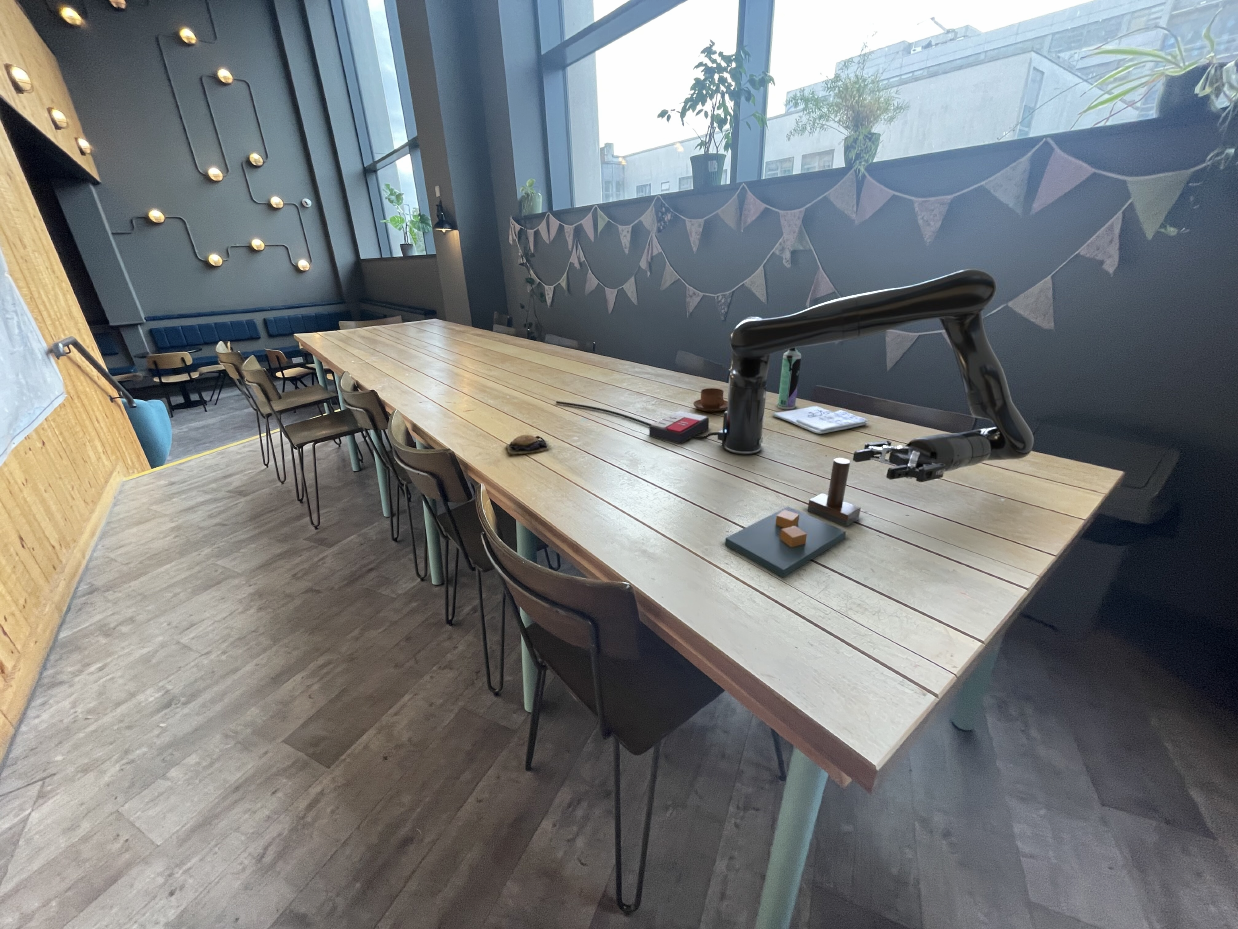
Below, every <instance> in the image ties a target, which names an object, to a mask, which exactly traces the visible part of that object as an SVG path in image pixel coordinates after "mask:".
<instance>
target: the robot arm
mask: <svg viewBox="0 0 1238 929" xmlns="http://www.w3.org/2000/svg"><path fill="white" fill-rule="evenodd" d="M997 290H998V284H997V281H996V279H995V277H993V275H991V273H989V272H987V271H985V270H982V269H977V268H968V269H962V270H958V271H956V272H953V273H950V274H947V275H944V276H940V277H938V278H934V279H931V280H927V281H924V282H920V283H917V284H912V285H908V286H902V287H896V288H887V289H882V290H875V291H871V292H865V293H859V294H854V295H849V296H846V297H845V296H844V297H840V298H837V299H833V300H830V301H826V302H822V303H819V304H817V305H814V306H812V307H809V308H807V309H804V310H801V311H799V312H796V313H793V314H789V315H784V316H779V317H771V318H762V317H760V316H748V317H745V318H743V319H742V320H740V321H739V322H738V323H737V324H736V325H735V327H734V328H733V330H732V332H731V334H730V337H729V346H730V349H731V361H730V369H729V373H728V374H729V375H728V390H727V401H728V404H727V409H726V411H724V412H723V418H722V429H720V430H718V431H712V432H708V433H707V434H704V435H695V436H692V437H691V438H690V439H694V440H705V439H707V438H709V437H711V436H717V440H718V441H721V447H723V448H724V449H725V450H726V451H727V452H729V453H732V454H737V455H743V456H744V455H747V456H748V455H754V454H757V453H760V452H761V450H762V443H763V440H764V437H763V429H764V428H763V427H764V419H765V418H764V417H765V406H766V396H767V385H768V378H769V370H770V360H771V355H772V354H776V353H780V352H783V351H788V350H789V349H791V348H796V349H797V348H801V347H811V346H819V345H820V346H821V345H826V344H832V343H841V342H846V341H851V340H857V339H861V338H865V337H869V336H874V335H877V334H880V333H884V332H888V331H889V330H893V329H895V328H898V327H902V326H904V325H907V324H911V323H915V322H920V321H927V320H935V319H938V320H939V322H940V323H941V326H942V328H943V330H944V331H945V334H946V336H947V339H948V341H949V343H950V346H951V348H952V351H953V353H954V357H955V360H956V364H957V367H958V370H959V371H958V372H959V374H960V378H961V383H962V385H963V390H964V393H965V397H966V401H967V405H968V408H969V412H970V414H971V415H972V417H974V418H976V419H985V420H988V421H990V422H991V423H992V424H993V425H994V426H991V427H984V428H983V427H982V428H976V429H972V430H969V431H968V430H967V431H960V432H954V433H939V434H935V435H927V436H920V437H916V438H913V439H912V440H910V441H909V442H907V444H905V445H897V446H895V445H892V441H891V440H882V441H874V442H866V443H864V447H863V449H860V450H855V451H854V452H853V455H852V461H853V462H854V463H861V462H867V461H879V462H880V464H886V465H894V466H890V467H888V468H887V472H886V479H888V480H891V481H892V480H898V479H904V478H906V479H908V480H909V479H910V480H912V479H915V481H916V482H918V483H926V482H929V481H934V480H938V479H943V477H944V474H945V472H951V471H955V470H957V469H960V468H961V469H962V468H965V467H971V466H972V467H973V466H976V465H980V464H981V463H983V462H989V461H1008V460H1010V461H1011V460H1022V459H1024V458H1026V457H1028V456H1029V455H1030V454H1031V453H1032V451H1033V449H1034V445H1035V440H1034V439H1035V438H1034V435H1033V432H1032V430H1031V428H1030V426H1029V425H1028V424H1027V422H1026V420H1025V419H1024V417H1023V415H1022V414H1021V412H1020V411H1019V410H1018V408H1017V406H1016V405H1015V404H1014V402H1013V399H1012V395H1011V391H1010V388H1009V385H1008V380H1007V377H1006V374H1005V370H1004V369H1003V366H1002V364H1001V361H1000V360H999V358H998V357H997V355H996V352H995V351H994V350H993V348H992V345H991V343H990V341H989V339H988V336H987V333H986V330H985V326H984V319H983V311H984V310H985V309H986V308H988V306H989V305H990V304H991V303H992V302H993V300H994V298H995V297H996V294H997ZM555 403H556V404H557V405H566V406H571V407H578V408H584V409H589V410H594V411H601V412H604V413H608V414H613V415H615V416H619V417H621V418H622V417H623V418H625V419H629V420H631V421H633V422H637V423H640V424H642V425H645V426H647V427H649V426H651V424H652V423H650V422H648V421H644V420H641V419H638V418H636V417H633V416H630V415H627V414H624V413H620V412H617V411H613V410H609V409H605V408H602V407H596V406H592V405H586V404H579V403H573V402H568V401H567V402H566V401H558V400H556V401H555ZM887 454H889V456H888V458H886V456H887Z"/></svg>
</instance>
